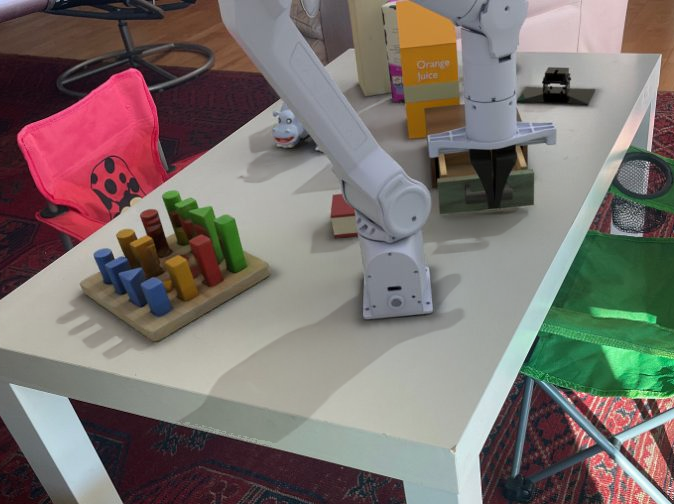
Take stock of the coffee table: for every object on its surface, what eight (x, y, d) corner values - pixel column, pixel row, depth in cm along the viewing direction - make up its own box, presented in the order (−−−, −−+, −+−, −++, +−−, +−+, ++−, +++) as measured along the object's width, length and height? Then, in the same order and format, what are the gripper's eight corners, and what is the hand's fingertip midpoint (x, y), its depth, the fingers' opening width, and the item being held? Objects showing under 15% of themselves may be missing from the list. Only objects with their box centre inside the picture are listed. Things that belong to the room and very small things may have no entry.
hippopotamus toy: (258, 161, 122) (244, 103, 115) (304, 124, 132) (293, 69, 126) (315, 167, 118) (304, 108, 112) (358, 129, 128) (349, 72, 122)
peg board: (81, 293, 95) (54, 234, 90) (195, 235, 104) (177, 178, 99) (155, 343, 86) (129, 280, 80) (273, 274, 95) (258, 214, 89)
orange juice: (407, 121, 129) (394, -5, 116) (458, 115, 129) (451, -11, 116) (408, 139, 123) (395, 8, 110) (462, 134, 123) (455, 2, 110)
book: (367, 235, 100) (363, 212, 98) (334, 238, 100) (330, 215, 98) (367, 213, 105) (364, 191, 103) (336, 216, 105) (332, 194, 103)
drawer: (538, 219, 98) (539, 186, 95) (441, 229, 98) (439, 196, 95) (519, 162, 111) (519, 131, 108) (434, 171, 111) (432, 141, 108)
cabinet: (527, 178, 108) (527, 136, 104) (432, 188, 109) (428, 146, 105) (514, 138, 119) (513, 98, 115) (427, 147, 120) (424, 108, 116)
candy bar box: (457, 93, 137) (451, -4, 126) (450, 103, 133) (444, 4, 123) (399, 92, 140) (389, -3, 129) (391, 102, 136) (380, 5, 126)
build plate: (516, 103, 131) (516, 76, 128) (526, 88, 136) (526, 62, 133) (588, 105, 127) (589, 78, 124) (595, 90, 132) (597, 63, 129)
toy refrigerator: (403, 90, 140) (391, -34, 127) (365, 97, 139) (348, -28, 126) (395, 77, 146) (382, -43, 133) (358, 83, 145) (342, -37, 132)
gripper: (549, 73, 85) (547, 183, 94) (422, 87, 85) (432, 195, 94) (561, 95, 79) (557, 210, 88) (425, 110, 80) (435, 223, 89)
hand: (493, 204), depth 91 cm, fingers closed
